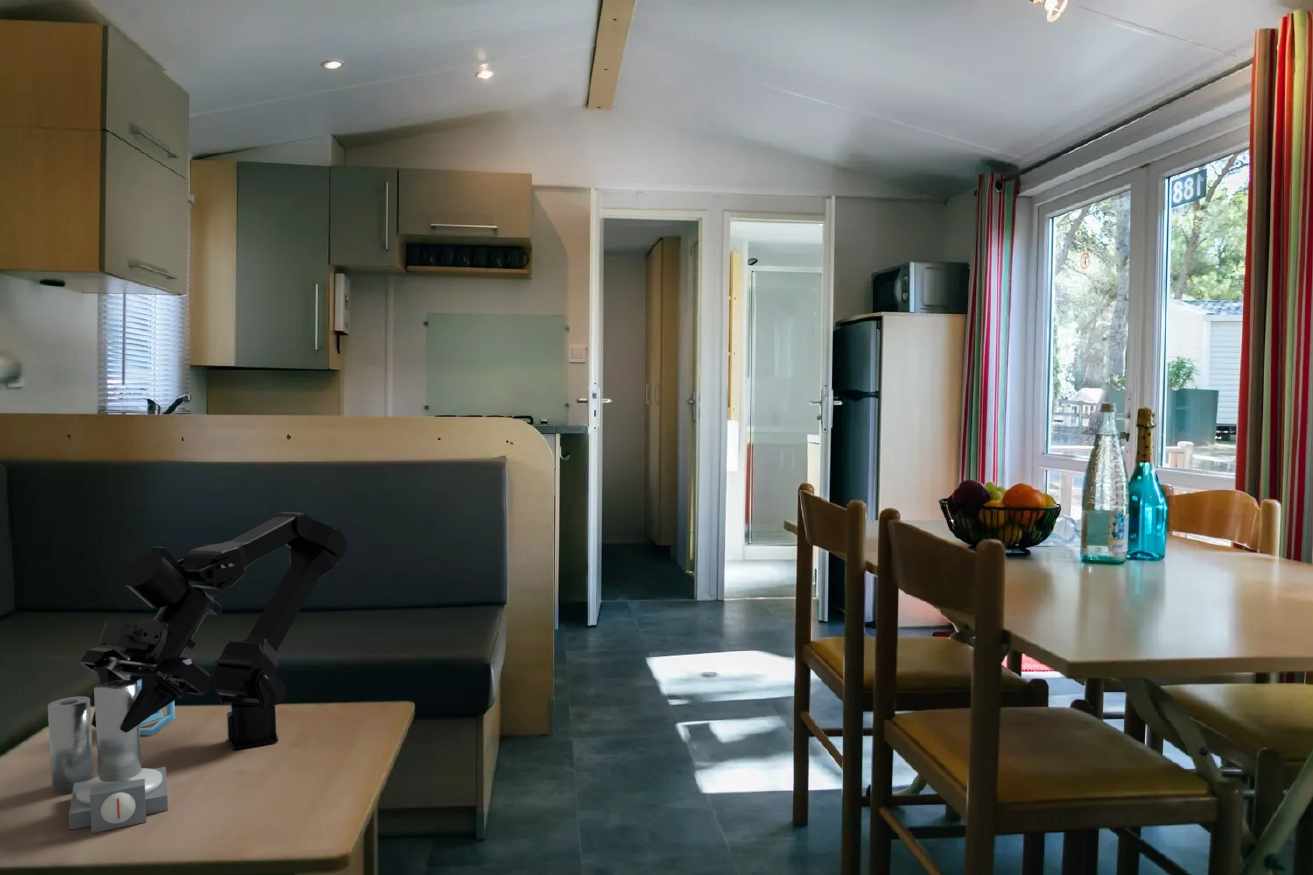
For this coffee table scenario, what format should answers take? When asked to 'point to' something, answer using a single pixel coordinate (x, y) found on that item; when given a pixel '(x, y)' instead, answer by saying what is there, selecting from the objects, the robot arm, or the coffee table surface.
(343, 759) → the coffee table surface
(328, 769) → the coffee table surface
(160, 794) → the scale
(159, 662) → the robot arm
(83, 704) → the cylinder
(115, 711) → the silver metal cylinder
